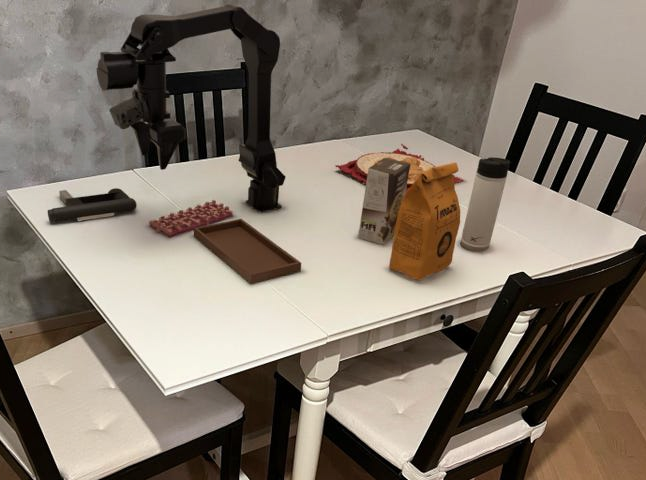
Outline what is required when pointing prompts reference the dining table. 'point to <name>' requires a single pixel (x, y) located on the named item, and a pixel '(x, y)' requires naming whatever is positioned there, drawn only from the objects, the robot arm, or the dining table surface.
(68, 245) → the dining table surface
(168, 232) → the pink flat grid slab
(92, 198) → the door handle
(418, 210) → the coffee package
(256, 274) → the tray
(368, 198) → the coffee box
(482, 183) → the travel mug
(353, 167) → the plate with food
